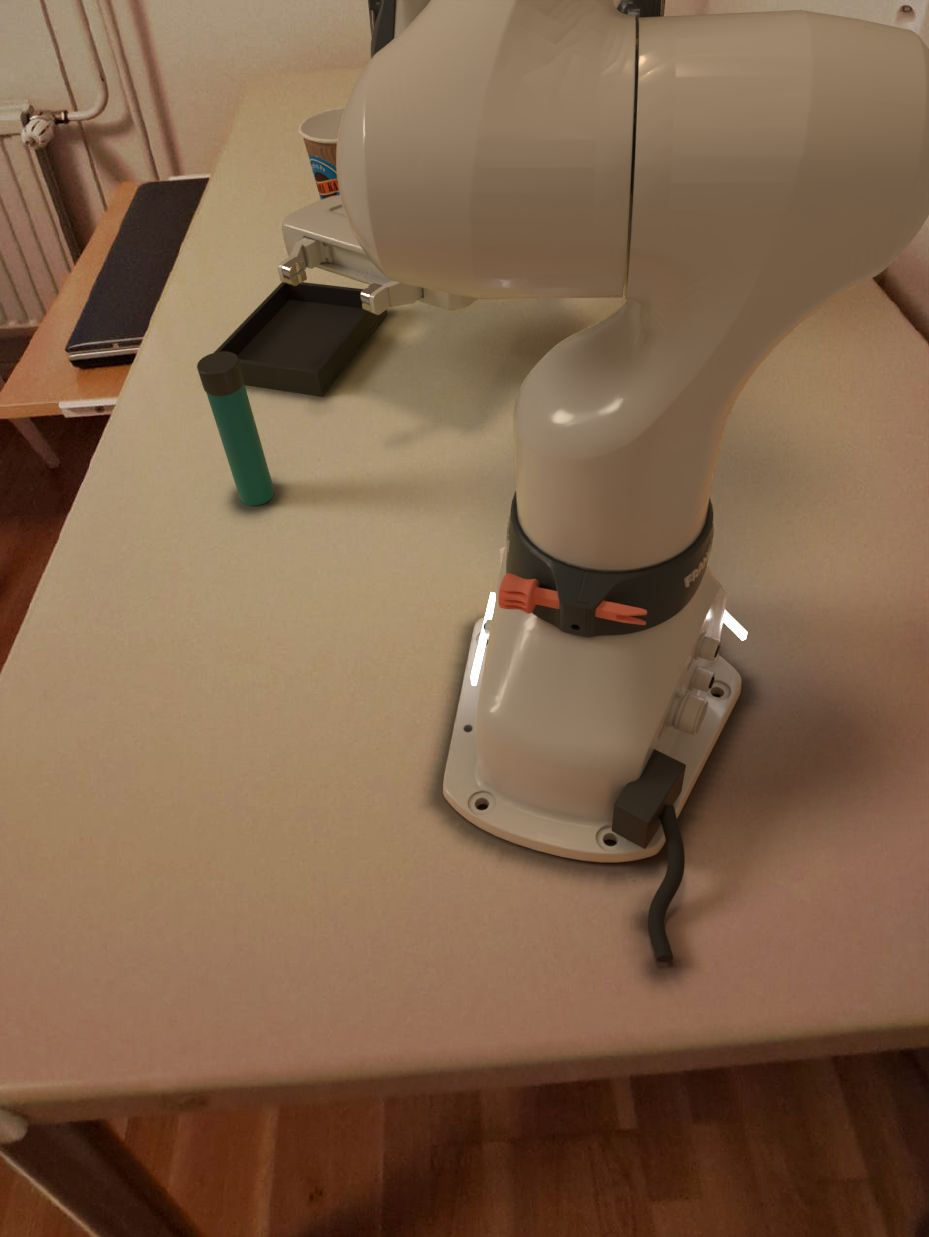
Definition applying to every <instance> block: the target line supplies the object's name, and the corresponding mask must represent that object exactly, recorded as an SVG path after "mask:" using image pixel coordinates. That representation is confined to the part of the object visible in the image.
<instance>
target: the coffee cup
mask: <svg viewBox="0 0 929 1237" xmlns="http://www.w3.org/2000/svg"><path fill="white" fill-rule="evenodd" d="M344 109H345V106H342V107H336V108H331V109H326V110H322V111H319V112H317V113H315V114H312V115H310V116H308V117H307V118H305V119H304V120H303V121H302V122H301V123H300V124H299V126H298V134H299V135H300V136H301V137H302V138H303V142H304V146H305V149H306V153H307V156H308V160H309V164H310V167H311V171H312V174H313V177H314V181H315V184H316V188H317V191H318V195H319V200H322V199H324V198H327V197H331V196H336V195H340V193H339V187H338V181H337V171H336V151H337V139H338V133H339V128H340V122H341V118H342V115H343V112H344Z"/></svg>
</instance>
